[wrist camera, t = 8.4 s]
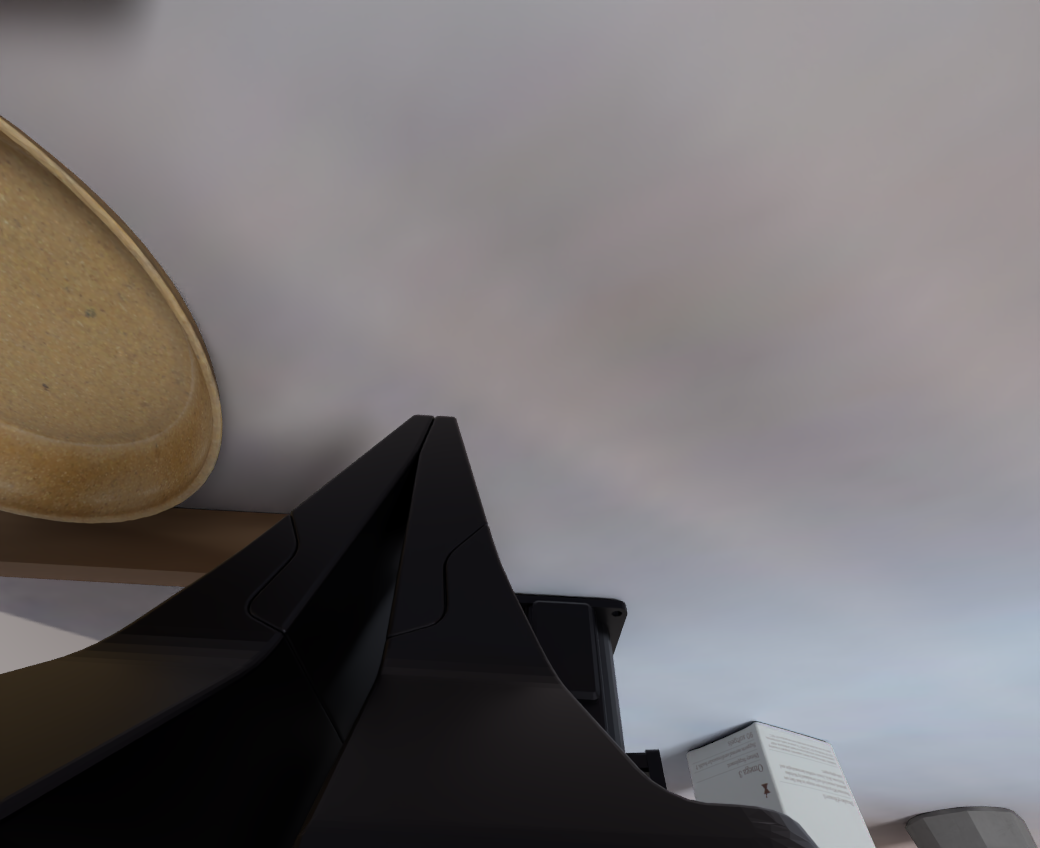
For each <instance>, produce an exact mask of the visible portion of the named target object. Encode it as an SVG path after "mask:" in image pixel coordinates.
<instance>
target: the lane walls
mask: <svg viewBox="0 0 1040 848" xmlns="http://www.w3.org/2000/svg"><path fill="white" fill-rule="evenodd" d="M286 515H291V514H273V513H255V512H237V511H219V510H201V509H183V508H170V509H167V510H166V511H163V512H160V513H158V514H155V515H152V516H148V517H143V518H139V519H136V520H127V521H124V522H112V523H105V522H104V523H75V522H62V521H53V520H47V519H42V518H33V517H29V516H23V515H18V514H14V513H10V512H5V511H1V510H0V576H3V577H21V578H38V579H56V580H74V581H92V582H110V583H127V584H145V585H163V586H181V587H187V586H188V585H190V584H191V583H193V582H194V581H196V580H197V579H199V578H200V577H202V576H203V575H205V574H206V573H208V572H209V571H211V570H212V569H214V568H215V567H217V566H218V565H219V564H221V563H222V562H224V561H225V560H227V559H228V558H230V557H231V556H233V555H234V554H235V553H237V552H238V551H240V550H241V549H243V548H244V547H245V546H247V545H248V544H249V543H251V542H252V541H253V540H255V539H256V538H257V537H259V536H260V535H261V534H263V533H264V532H265V531H267V530H268V529H269V528H271V527H272V526H273V525H275V524H276V523H277V522H278V521H280V520H281V519H282V518H283V517H285V516H286Z"/></svg>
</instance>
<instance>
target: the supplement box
mask: <svg viewBox="0 0 1040 848" xmlns="http://www.w3.org/2000/svg"><path fill="white" fill-rule="evenodd" d="M686 756H687V761H688V766H689V770H690V775H691V780H692V785H693V790H694V794H695V799H696V801H700V802H706V803H721V804H738V805H748V806H757V807H762V808H767V809H772V810H775V811H778V812H780V813H783V814H786V815H787V816H789V817H790V818H792V819H793V820H795V821H796V822H798V823H799V824H800V825H801V826H802V828H803V829H804V830H805V831H806V832H807V834H808V835H809V836H810V837H811V839H812V840H813V841H814V842H815V843H816V845H817V846H818V847H819V848H876V847H875V845H874V843H873V840H872V838H871V836H870V834H869V831H868V829H867V827H866V824H865V822H864V820H863V817H862V815H861V813H860V811H859V808H858V806H857V804H856V801H855V799H854V797H853V794H852V792H851V790H850V788H849V785H848V783H847V781H846V778H845V776H844V774H843V771H842V769H841V767H840V764H839V762H838V760H837V758H836V755H835V753H834V751H833V748H832V746H831V744H829V743H826V742H824V741H820V740H817V739H814V738H811V737H807V736H804V735H801V734H797V733H794V732H791V731H788V730H784V729H780V728H777V727H773V726H770V725H767V724H764V723H759V722H754V723H753V724H752V725H750V726H748V727H747V728H745V729H743V730H741V731H739V732H736V733H734V734H732V735H730V736H727V737H725V738H723V739H720V740H718V741H716V742H713V743H711V744H708V745H706V746H704V747H701V748H699V749H695V750H692V751H689V752H688V753H687V755H686Z"/></svg>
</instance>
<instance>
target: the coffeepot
mask: <svg viewBox="0 0 1040 848" xmlns="http://www.w3.org/2000/svg"><path fill="white" fill-rule="evenodd" d="M905 828H906V830H907V831H908V833H909V835H910V836H911V838H912V839H913V841H914V842H915V844H916V845H917V847H918V848H1037V846H1036V844H1035V842H1034V840H1033V838H1032V835H1031V833H1030V831H1029V829H1028V827H1027V825H1026V823H1025V821H1024V820H1023V819H1022V818H1021V817H1019V816H1018V815H1017V814H1016V813H1015V812H1014V811H1012V810H1009V809H1005V808H998V807H961V808H951V809H944V810H938V811H933V812H929V813H925V814H921V815H918V816H916V817H914V818H912V819H910V820H909V821H908V823H907V825H906V827H905Z"/></svg>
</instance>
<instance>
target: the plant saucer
mask: <svg viewBox="0 0 1040 848" xmlns="http://www.w3.org/2000/svg"><path fill="white" fill-rule="evenodd" d="M221 439H222V413H221V405H220V398H219V391H218V386H217V382H216V378H215V374H214V370H213V367H212V364H211V361H210V357H209V354H208V352H207V349H206V346H205V344H204V341H203V339H202V336H201V334H200V332H199V330H198V327H197V325H196V323H195V321H194V319H193V317H192V315H191V313H190V311H189V309H188V308H187V306H186V304H185V302H184V301H183V299H182V297H181V295H180V294H179V292H178V291H177V289H176V287H175V286H174V284H173V282H172V281H171V280H170V278H169V277H168V275H167V274H166V273H165V271H164V270H163V268H162V267H161V266H160V264H159V263H158V262H157V261H156V259H155V258H154V257H153V255H152V254H151V253H150V252H149V250H148V249H147V248H146V246H145V245H144V244H143V243H142V242H141V240H140V239H139V238H138V237H137V236H136V235H135V234H134V233H133V231H132V230H131V229H130V228H129V227H128V226H127V225H126V223H125V222H124V221H123V220H122V219H121V218H120V217H119V216H118V215H117V214H116V213H115V212H114V211H113V210H112V209H111V208H110V207H109V206H108V205H107V204H106V203H105V202H104V201H103V200H102V199H101V198H100V197H99V196H98V195H97V194H96V193H95V192H93V191H92V190H91V189H90V188H89V187H88V186H87V185H86V184H85V183H84V182H83V181H82V180H80V179H79V178H78V177H77V176H76V175H75V174H74V173H73V172H71V171H70V170H69V169H68V168H67V167H65V166H64V165H63V164H62V163H61V162H59V161H58V160H57V159H56V158H55V157H54V156H52V155H51V154H50V153H49V152H47V151H46V150H45V149H44V148H42V147H41V146H40V145H39V144H37V143H36V142H35V141H34V140H32V139H31V138H30V137H29V136H27V135H26V134H25V133H24V132H23V131H21V130H20V129H19V128H17V127H16V126H15V125H13V124H12V123H10V122H9V121H8V120H6V119H5V118H3V117H2V116H0V510H1V511H5V512H10V513H14V514H18V515H23V516H29V517H33V518H42V519H47V520H53V521H62V522H75V523H104V522H105V523H112V522H124V521H127V520H136V519H139V518H143V517H148V516H152V515H155V514H158V513H160V512H163V511H166V510H167V509H170V508H172V507H174V506H176V505H178V504H180V503H182V502H183V501H185V500H186V499H187V498H189V497H190V496H191V495H193V494H194V493H195V492H196V491H197V490H198V489H199V488H200V487H201V486H202V485H203V484H204V483H205V481H206V480H207V479H208V477H209V475H210V473H211V472H212V470H213V468H214V466H215V463H216V461H217V458H218V455H219V451H220V446H221Z"/></svg>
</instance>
